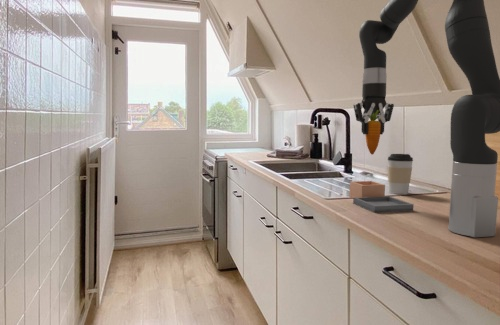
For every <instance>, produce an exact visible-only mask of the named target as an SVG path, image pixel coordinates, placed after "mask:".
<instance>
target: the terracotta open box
mask: <svg viewBox="0 0 500 325" xmlns="http://www.w3.org/2000/svg"><path fill="white" fill-rule="evenodd" d="M348 194H349V198H352V199H353V198H355V197H380V196H386V184H384V183H380V182H377V181H373V180H358V181H356V180H354V181H351V180H350V181H349V193H348Z"/></svg>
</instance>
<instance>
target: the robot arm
mask: <svg viewBox="0 0 500 325" xmlns="http://www.w3.org/2000/svg"><path fill="white" fill-rule="evenodd" d="M418 2H419V0H389V1H388V2H387V4H386V5H385V6H384V7H383V8H382V9H381V11H380V14H379V18H380V20H372V19H369V20H368V19H367V20H365V21H364V22H363V23H362V24H361V25H360V28H359V34H358V35H359V41H360V45H361V50H362V54H363V55H362V56H363V73H362V88H361V89H362V92H361V94H362V100H361V102H357V103H353V110H354V116H355V120H356V121H357V122H359V123H361V133H362V134H363V135H365V134H368V123H367V122H368V121H370V118H369V117H370V116H371V114H373V112H374V113H376V111H377V110H378V111H379V112H378V114H377V116H379V117H378V118H377V119H376V120H377V121H379V122H380V123H381V130H380V135H383V134H384V132H385V123H387V122H390V121H391V118H392V114H393V110H394V106H395V104H394V103H389V102H387V101H386V97H387V96H386V95H387V76H388V75H387V53H386V52H385V51H384V50H382V49H380V48H379V47H378V46H377V45H383V44H386V43H388V42H390V40H392V38H393V37H394V34H395V33H396V32H397V31H398V30H397V29H398V27H399V26H400V25H401V23H403V21H404V20H405V19H407V18H408V16H409V15H410V14H411V13H412V12H413V11H414V10H415V8H416V6H417V4H418ZM444 22H445V23H444V31H445V36H446V37H445V38H446V43H447V48H448V51H449V53H450V55H451V58H453V60H454V62H455V63H456V64H457V66H458V67H459V68H460V69H461V70H460V71H462V72H463V74H464V75H465V77H466V78H467V80H468V84H469V86H470V90H471V94H466V95H461V97H459V98H458V99H457V100H456V101H455V102H454V104H453V107H452V109H451V113H450V140H449V141H450V143H449V144H450V149H451V153H452V171H451V173H452V174H451V184H450V185H451V186H450V198H449V199H450V200H449V216H448V217H449V218H448V231H450V232H452V233H454V234H458V235H462V236H468V237H471V238H487V237H495V236H496V233H497V232H496V230H497V228H496V227H497V220H498V219H497V218H498V205H499V196H496V194H495V193H496V181H497V170H498V169H497V168H498V158H499V157H498V156H499V155H498V152H497V151H496V150H495V149H493V148H491V147H490V146H488V144H487V143H486V142H487V141H486V134H487V135H489V134H497V133H499V132H500V75H499V72H498V68H497V63H496V58H495V53H494V49H493V46H492V38H491V32H490V25H489V20H488V15H487V13H486V6H485V1H484V0H452V4H451V6H450V8H449V10H448V12H447V15H446V18H445V21H444ZM362 109H363V111H362ZM384 109H385V111H384Z"/></svg>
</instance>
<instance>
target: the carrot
mask: <svg viewBox="0 0 500 325" xmlns="http://www.w3.org/2000/svg"><path fill="white" fill-rule="evenodd" d="M378 112H379V111H378V110H377V111H376V113H374V112H373V114H371V116H370V117H369V120H368V122H367V123H368V134H364V136H365V141H366V142H365V143H366V147H367V149H368V152H369V154H370V155H371V156H372V155H374V154H375V152H376V151H377V148H378V145H379V143H380V138H381V134H380V130H381V123H380V122H379V121H378V119H377V118H378V117H379V116H377V114H378Z"/></svg>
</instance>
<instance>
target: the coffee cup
mask: <svg viewBox="0 0 500 325" xmlns="http://www.w3.org/2000/svg"><path fill="white" fill-rule="evenodd" d="M413 161H414V159H413V157H412V156H411V155H410V153H390V155H389V156H388V157H387V181H388V193H389V194H393V195H409V189H410V183H411V178H412V169H413V167H412V166H413Z"/></svg>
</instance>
